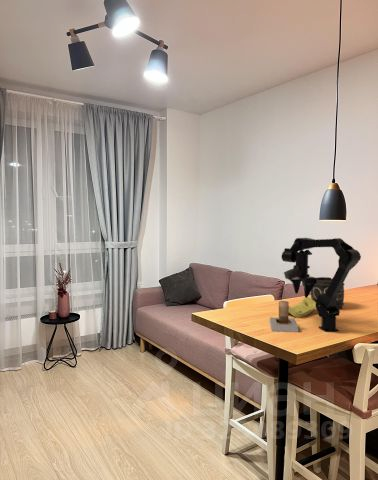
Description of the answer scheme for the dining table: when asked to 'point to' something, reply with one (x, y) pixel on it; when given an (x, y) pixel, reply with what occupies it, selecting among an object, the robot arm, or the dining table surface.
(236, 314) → the dining table surface
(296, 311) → the plastic component
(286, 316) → the walnut peg
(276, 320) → the hole plate
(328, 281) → the patterned black pot
